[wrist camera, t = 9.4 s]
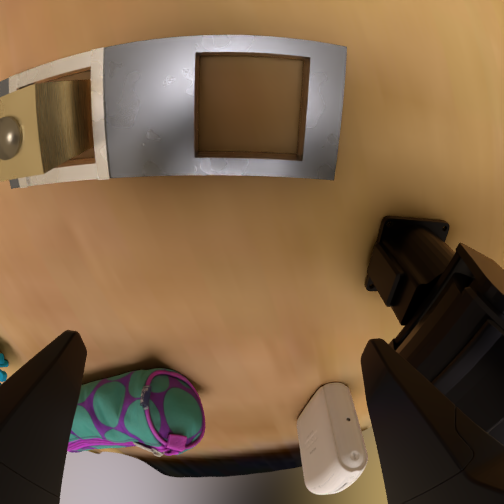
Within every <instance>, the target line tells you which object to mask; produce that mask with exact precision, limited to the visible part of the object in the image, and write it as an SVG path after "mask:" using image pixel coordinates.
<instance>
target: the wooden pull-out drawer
mask: <svg viewBox="0 0 504 504" xmlns="http://www.w3.org/2000/svg"><path fill="white" fill-rule="evenodd" d="M92 147H94V139H93V126H92V108H91V80H73V81H58V82H47V83H38V84H33V85H30V86H28V87H25V88H22V89H19V90H17V91H14V92H12V93H9V94H7V95H4V96H2V97H0V182H2V181H7V180H12V179H17V178H23V177H29V176H35V175H42V174H45V173H47V172H48V171H50V170H52V169H53V168H55V167H57V166H59V165H60V164H62V163H64V162H66V161H67V160H69V159H71V158H73V157H75V156H77V155H78V154H80V153H82V152H84V151H86V150H88V149H90V148H92Z"/></svg>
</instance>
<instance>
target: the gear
mask: <svg viewBox="0 0 504 504" xmlns="http://www.w3.org/2000/svg"><path fill="white" fill-rule="evenodd" d="M8 365H9V364H8V361H7V360H4V355H3V354H2V353H0V367H8ZM6 379H7V374H6V372H5V371H2V370H1V369H0V381H1V382H3V381H6ZM0 385H1V383H0Z"/></svg>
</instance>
